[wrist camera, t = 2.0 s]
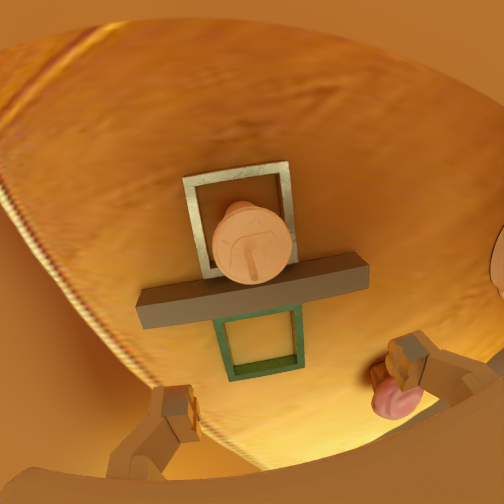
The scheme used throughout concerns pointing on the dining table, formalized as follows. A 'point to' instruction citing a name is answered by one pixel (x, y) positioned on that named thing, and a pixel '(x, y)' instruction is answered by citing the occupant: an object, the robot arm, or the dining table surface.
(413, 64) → the dining table surface
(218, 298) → the door edge
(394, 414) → the cupcake
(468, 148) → the dining table surface
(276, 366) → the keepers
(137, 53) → the dining table surface
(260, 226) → the smoothie
